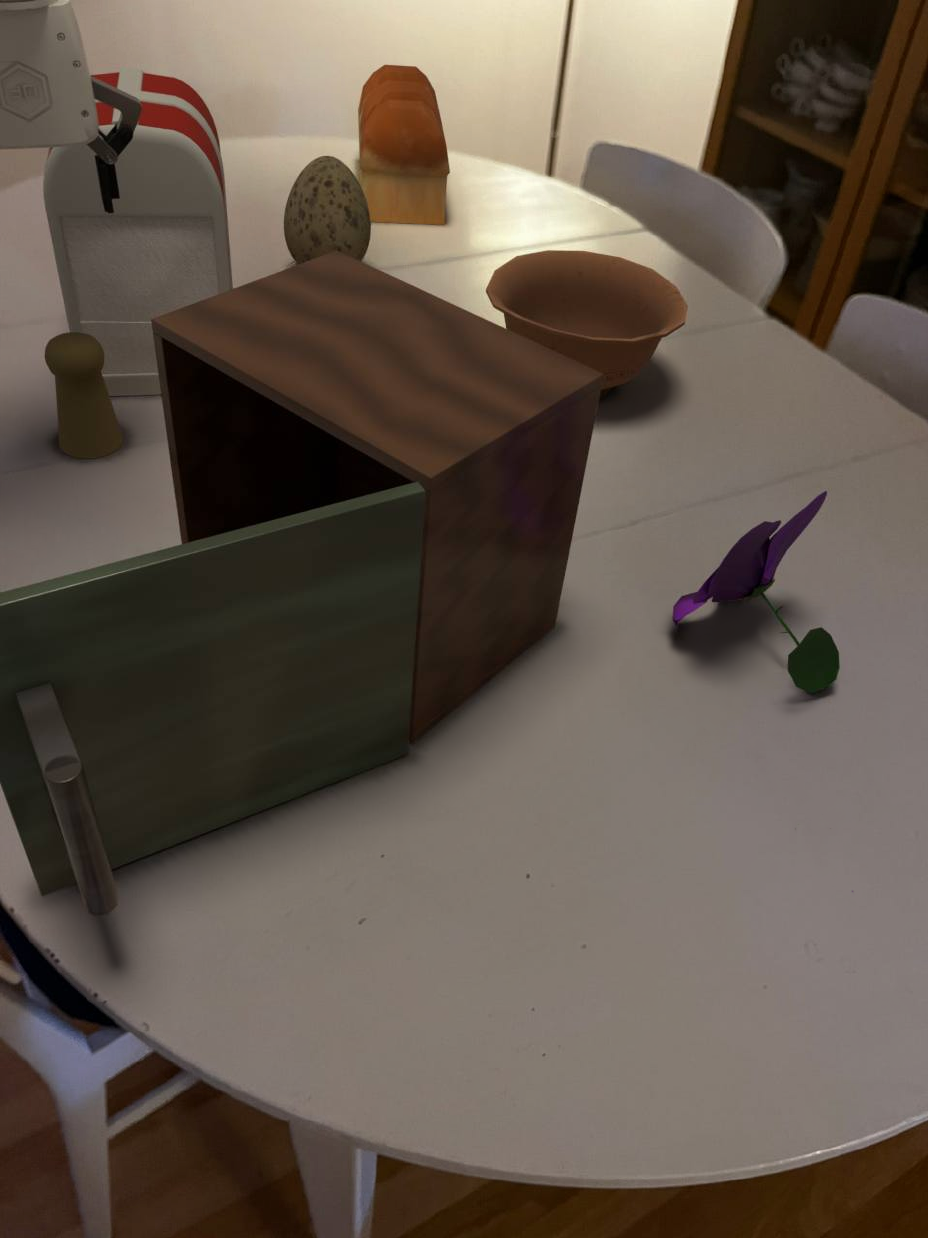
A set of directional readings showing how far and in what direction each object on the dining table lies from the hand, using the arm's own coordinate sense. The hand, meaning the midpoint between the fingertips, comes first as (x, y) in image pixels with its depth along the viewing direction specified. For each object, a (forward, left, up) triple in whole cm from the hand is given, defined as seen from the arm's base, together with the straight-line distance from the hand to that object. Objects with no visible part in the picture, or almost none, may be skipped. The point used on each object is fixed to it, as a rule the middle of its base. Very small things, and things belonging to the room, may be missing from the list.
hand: (48, 210), depth 86 cm
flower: (+50, -44, -23) cm, 70 cm away
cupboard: (+20, -30, -23) cm, 43 cm away
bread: (+50, +59, -23) cm, 80 cm away
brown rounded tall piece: (0, 0, -23) cm, 23 cm away
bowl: (+53, +1, -23) cm, 58 cm away
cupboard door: (+6, -52, -22) cm, 57 cm away
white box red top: (+9, +16, -23) cm, 29 cm away
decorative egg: (+32, +32, -23) cm, 50 cm away
